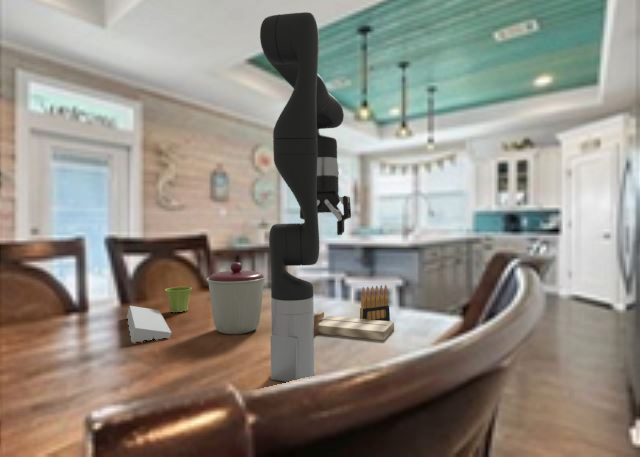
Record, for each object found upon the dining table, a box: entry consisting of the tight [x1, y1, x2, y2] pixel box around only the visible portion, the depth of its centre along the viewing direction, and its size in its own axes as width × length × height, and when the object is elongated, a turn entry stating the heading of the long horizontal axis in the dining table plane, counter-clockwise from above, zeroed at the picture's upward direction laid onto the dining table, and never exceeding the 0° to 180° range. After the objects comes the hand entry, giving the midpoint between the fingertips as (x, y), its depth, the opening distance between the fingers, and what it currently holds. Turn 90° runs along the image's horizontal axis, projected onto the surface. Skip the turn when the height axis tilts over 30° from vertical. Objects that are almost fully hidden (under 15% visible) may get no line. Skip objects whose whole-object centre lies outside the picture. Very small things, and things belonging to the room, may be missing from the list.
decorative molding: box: [126, 305, 172, 343], centre depth 132 cm, size 34×5×10 cm
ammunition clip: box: [359, 284, 391, 321], centre depth 135 cm, size 11×2×12 cm, turn 116°
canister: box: [205, 262, 267, 335], centre depth 127 cm, size 18×18×21 cm
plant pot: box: [164, 286, 193, 313], centre depth 154 cm, size 9×9×9 cm
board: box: [319, 315, 395, 341], centre depth 126 cm, size 28×12×2 cm, turn 66°
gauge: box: [314, 311, 325, 337], centre depth 124 cm, size 12×4×7 cm, turn 156°
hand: (325, 234), depth 113 cm, fingers open, 8 cm apart
